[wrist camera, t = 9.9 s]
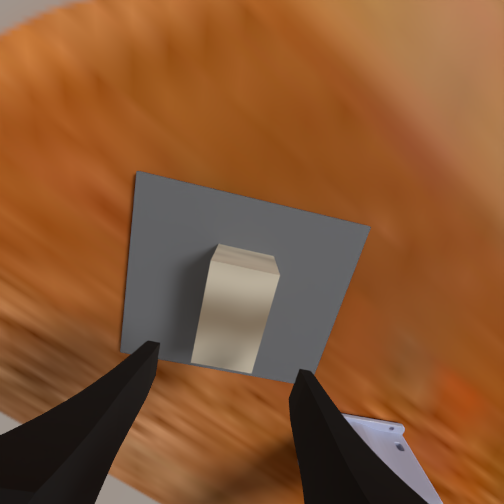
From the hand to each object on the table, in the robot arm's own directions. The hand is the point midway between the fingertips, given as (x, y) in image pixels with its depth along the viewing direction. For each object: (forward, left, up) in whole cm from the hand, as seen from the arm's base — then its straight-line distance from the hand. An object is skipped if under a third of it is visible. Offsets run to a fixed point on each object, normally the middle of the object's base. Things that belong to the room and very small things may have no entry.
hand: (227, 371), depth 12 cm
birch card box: (0, 0, -8) cm, 8 cm away
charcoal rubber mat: (0, 0, -9) cm, 9 cm away
